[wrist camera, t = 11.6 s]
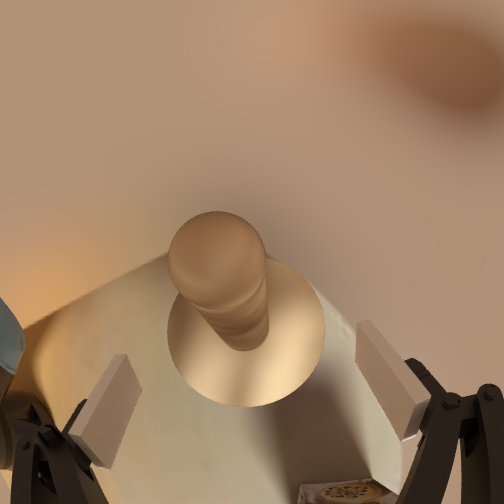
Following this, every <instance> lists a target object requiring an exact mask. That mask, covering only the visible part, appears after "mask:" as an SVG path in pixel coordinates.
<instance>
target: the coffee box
mask: <svg viewBox="0 0 504 504" xmlns="http://www.w3.org/2000/svg"><path fill="white" fill-rule="evenodd" d="M398 497H399V495H397V494H396V493H394V492H392V491H391V490H389V489H388V488H386V487H385V486H383V485H382V484H380V483H379V482H377V481H376V480H374V479H373V478H366V479H359V480H351V481H343V482H332V483H318V484H301V485H300V487H299V494H298V501H297V504H395V503H396V501H397V499H398Z"/></svg>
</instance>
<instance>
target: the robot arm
mask: <svg viewBox="0 0 504 504" xmlns="http://www.w3.org/2000/svg"><path fill="white" fill-rule="evenodd" d="M25 347H26V340H25V335H24V332H23V330H22V328H21V326H20V324H19V322H18V321H17V319H16V317H15V316H14V314H13V313H12V312H11V310H10V309H9V308H8V306H7V305H6V304H5V303H4V301H3V300H2V299H1V298H0V469H5V470H10V471H13V473H12V484H11V504H109V503H108V501H107V499H106V497H105V495H104V493H103V491H102V489H101V487H100V485H99V483H98V481H97V479H96V476H95V474H94V472H93V470H92V468H91V467H90V464H91V462H92V463H93V464H94V465H95V466H96V467H97V468H99V469H104V470H109V471H110V470H111V467H112V464H113V462H114V459H115V456H116V454H117V451H118V448H119V446H120V443H121V441H122V438H123V435H124V433H125V430H126V428H127V425H128V423H129V420H130V418H131V415H132V413H133V410H134V408H135V406H136V403H137V401H138V398H139V396H140V394H141V391H142V388H141V386H140V383H139V381H138V379H137V377H136V375H135V373H134V371H133V368H132V366H131V364H130V361H129V359H128V357H127V354H123V355H115V357H114V358H113V360H112V361H111V363H110V364H109V366H108V367H107V369H106V371H105V372H104V374H103V375H102V377H101V379H100V380H99V382H98V383H97V385H96V387H95V388H94V390H93V391H92V393H91V395H90V396H89V398H88V399H84V400H83V401H82V402H81V403H79V404H78V406H77V407H76V409H75V412H73V414H72V416H71V417H70V419H69V421H68V422H67V424H66V426H65V427H64V429H63V431H62V433H61V432H60V431H59V430H58V428H57V427H56V426H55V425H54V424H53V421H52V419H51V417H50V415H49V413H48V412H47V410H46V408H45V407H44V406H43V404H42V403H41V402H40V401H39V400H38V399H37V398H36V397H35V396H33V395H32V394H30V393H27V392H22V391H17V390H12V391H8V389H9V386H10V384H11V381H12V379H13V377H14V375H16V374H17V372H18V365H19V363H20V361H21V358H22V356H23V354H24V351H25ZM355 362H356V364H357V365H358V367H359V369H360V370H361V372H362V374H363V376H364V377H365V379H366V381H367V382H368V384H369V386H370V388H371V389H372V391H373V393H374V395H375V396H376V398H377V400H378V402H379V403H380V405H381V407H382V409H383V410H384V412H385V414H386V416H387V417H388V419H389V421H390V423H391V425H392V426H393V428H394V430H395V432H396V434H397V436H398V437H399V439H400V441H401V442H403V441H405V440H408V439H410V438H413V437H415V436H416V434H417V432H418V430H419V429H420V431H421V432H422V434H423V435H422V437H421V439H420V441H419V443H418V449H417V452H416V455H415V458H414V461H413V463H412V466H411V469H410V471H409V474H408V476H407V479H406V481H405V483H404V486H403V488H402V490H401V492H400V495H399V497H398V499H397V501H396V503H395V504H441V502H442V499H443V496H444V493H445V490H446V487H447V484H448V480H449V477H450V473H451V470H452V466H453V462H454V457H455V453H456V449H457V444H458V439H460V448H461V472H462V473H461V474H462V484H461V486H462V488H461V489H462V490H461V504H504V398H503V395H502V392H501V390H500V388H499V387H497V386H496V385H494V384H484V385H482V386H481V387H480V388H479V390H478V392H477V394H474V395H470V396H466V397H461V396H459V395H458V394H456V393H452V392H451V393H450V392H449V393H447V392H446V391H445V390H444V389H443V387H442V386H441V385H440V384H439V383H438V381H437V380H436V379H435V378H434V377H433V376H432V375H431V374H430V372H429V371H428V370H426V368H425V366H424V365H423V364H422V363H421V362H419V361H418V360H416V359H414V358H410V359H408V360H405V361H403V359H402V358H401V357H400V356H399V355H398V353H397V352H396V351H395V350H394V349H393V348H392V346H391V345H390V344H389V343H388V341H387V340H386V339H385V338H384V337H383V336H382V334H381V333H380V332H379V331H378V330H377V328H376V327H375V326H374V325H373V324H372V323H371V322H370V320H367V321H363V322H359V323H357V333H356V358H355Z"/></svg>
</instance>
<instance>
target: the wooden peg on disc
mask: <svg viewBox="0 0 504 504" xmlns="http://www.w3.org/2000/svg"><path fill="white" fill-rule="evenodd" d="M168 267H169V272H170V276H171V279H172V281H173V283H174V285H175V287H176V288H177V290H178V291H179V292H180V293H179V294H178V296H177V298H176V300H175V302H174V304H173V306H172V309H171V312H170V316H169V320H168V330H167V335H168V345H169V350H170V354H171V357H172V359H173V362H174V364H175V366H176V368H177V370H178V371H179V373H180V374H181V376H182V377H183V378H184V379H185V381H186V382H187V383H188V384H189V385H190V386H191V387H192V388H194V389H195V390H196V391H197V392H198V393H200V394H202V395H203V396H205V397H207V398H209V399H211V400H213V401H215V402H218V403H221V404H225V405H228V406H236V407H254V406H261V405H265V404H269V403H272V402H275V401H277V400H279V399H282V398H284V397H285V396H287V395H289V394H290V393H292V392H293V391H295V390H296V389H297V388H298V387H299V386H301V385H302V384H303V383H304V382H305V380H306V379H307V378H308V377H309V376H310V374H311V373H312V371H313V370H314V369H315V367H316V365H317V363H318V361H319V359H320V356H321V353H322V350H323V347H324V341H325V328H326V327H325V317H324V313H323V309H322V306H321V304H320V301H319V299H318V297H317V295H316V293H315V291H314V290H313V288H312V287H311V286H310V285H309V283H308V282H307V281H306V280H305V279H304V278H303V277H302V276H301V275H300V274H299V273H297V272H296V271H295V270H293V269H292V268H290V267H288V266H287V265H285V264H283V263H281V262H278V261H276V260H272V259H269V258H266V253H265V248H264V245H263V242H262V240H261V238H260V236H259V234H258V233H257V231H256V230H255V229H254V228H253V227H252V226H251V225H250V224H249V223H248V222H247V221H245V220H244V219H242V218H241V217H239V216H237V215H234V214H231V213H226V212H218V211H215V212H207V213H204V214H200V215H198V216H196V217H194V218H192V219H190V220H189V221H187V222H186V223H185V224H184V225H183V226H182V227H181V228H180V229H179V231H178V232H177V233H176V235H175V236H174V238H173V240H172V242H171V246H170V249H169V254H168Z"/></svg>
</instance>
